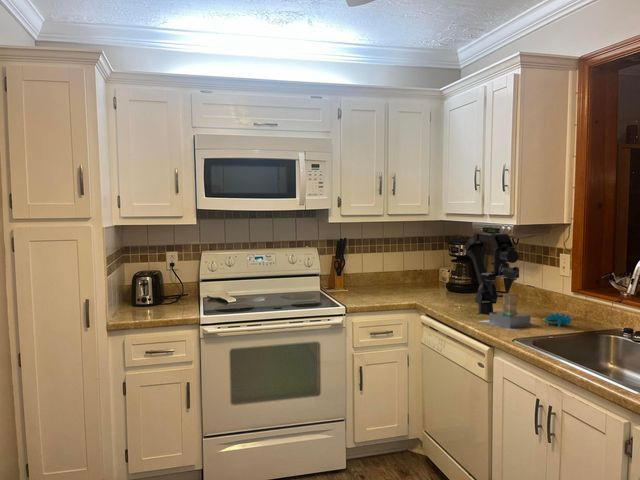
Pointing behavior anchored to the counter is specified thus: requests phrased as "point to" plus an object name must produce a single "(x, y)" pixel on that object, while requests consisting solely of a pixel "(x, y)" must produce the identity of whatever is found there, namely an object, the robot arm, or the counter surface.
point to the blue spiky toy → (557, 319)
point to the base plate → (505, 328)
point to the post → (510, 304)
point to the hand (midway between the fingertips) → (499, 293)
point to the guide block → (509, 319)
